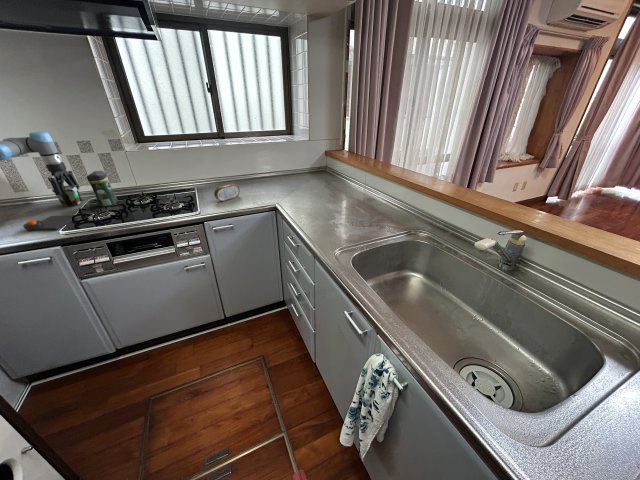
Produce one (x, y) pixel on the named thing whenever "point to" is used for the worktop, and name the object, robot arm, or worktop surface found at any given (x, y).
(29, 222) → the tare button
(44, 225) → the scale
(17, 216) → the worktop surface
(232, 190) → the tin
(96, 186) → the coffee jar
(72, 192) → the food container
